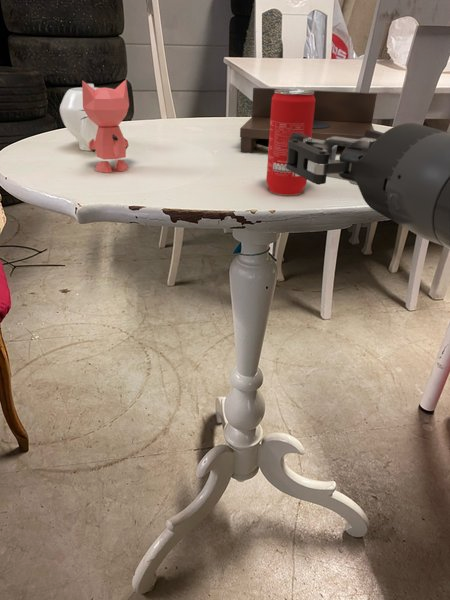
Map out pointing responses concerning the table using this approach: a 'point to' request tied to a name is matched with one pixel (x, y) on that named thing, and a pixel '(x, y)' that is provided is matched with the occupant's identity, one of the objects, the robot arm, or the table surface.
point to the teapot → (78, 117)
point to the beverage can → (287, 137)
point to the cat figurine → (107, 123)
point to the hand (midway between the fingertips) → (330, 141)
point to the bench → (327, 116)
